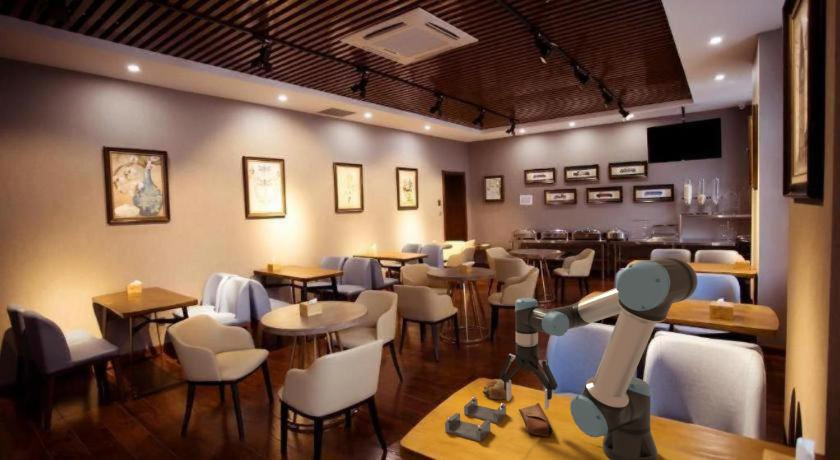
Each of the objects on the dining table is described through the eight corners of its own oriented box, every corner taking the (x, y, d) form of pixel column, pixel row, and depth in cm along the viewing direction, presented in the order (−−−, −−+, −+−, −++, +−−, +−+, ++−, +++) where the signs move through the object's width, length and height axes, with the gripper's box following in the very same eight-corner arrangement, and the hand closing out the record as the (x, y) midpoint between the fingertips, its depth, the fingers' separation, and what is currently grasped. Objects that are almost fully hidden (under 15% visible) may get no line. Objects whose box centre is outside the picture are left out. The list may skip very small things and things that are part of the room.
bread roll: (504, 410, 171) (513, 392, 170) (480, 396, 173) (489, 379, 172) (504, 399, 181) (513, 383, 180) (481, 387, 182) (490, 370, 181)
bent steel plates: (506, 414, 161) (505, 402, 161) (480, 441, 142) (479, 428, 142) (474, 407, 168) (473, 395, 168) (445, 432, 149) (444, 419, 149)
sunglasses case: (516, 408, 162) (527, 394, 162) (532, 419, 162) (543, 405, 162) (526, 432, 144) (538, 416, 144) (543, 445, 144) (556, 429, 144)
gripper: (566, 345, 148) (567, 407, 149) (497, 335, 162) (498, 392, 163) (560, 352, 142) (561, 416, 143) (488, 341, 156) (490, 399, 157)
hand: (527, 403), depth 153 cm, fingers open, 13 cm apart
